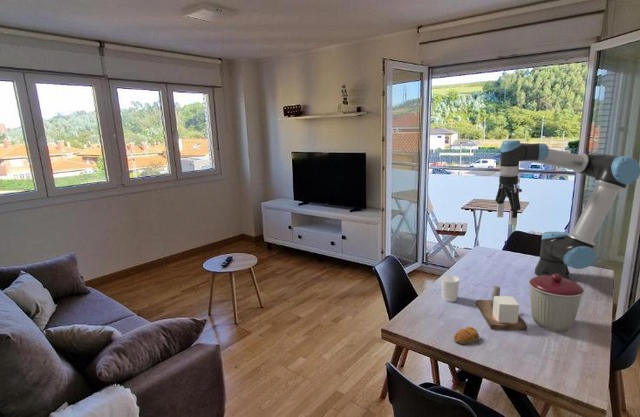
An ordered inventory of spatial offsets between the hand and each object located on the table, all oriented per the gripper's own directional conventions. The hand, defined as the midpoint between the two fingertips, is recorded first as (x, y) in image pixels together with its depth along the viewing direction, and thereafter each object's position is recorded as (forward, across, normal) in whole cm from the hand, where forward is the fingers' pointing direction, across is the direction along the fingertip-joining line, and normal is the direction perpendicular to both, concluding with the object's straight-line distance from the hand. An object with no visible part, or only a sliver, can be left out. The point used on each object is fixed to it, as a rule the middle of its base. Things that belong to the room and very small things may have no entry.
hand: (506, 220), depth 166 cm
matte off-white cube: (+31, +32, -13) cm, 47 cm away
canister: (+34, +33, +5) cm, 48 cm away
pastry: (+34, +43, -31) cm, 63 cm away
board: (+34, +27, -12) cm, 45 cm away
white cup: (+34, +10, -28) cm, 45 cm away
